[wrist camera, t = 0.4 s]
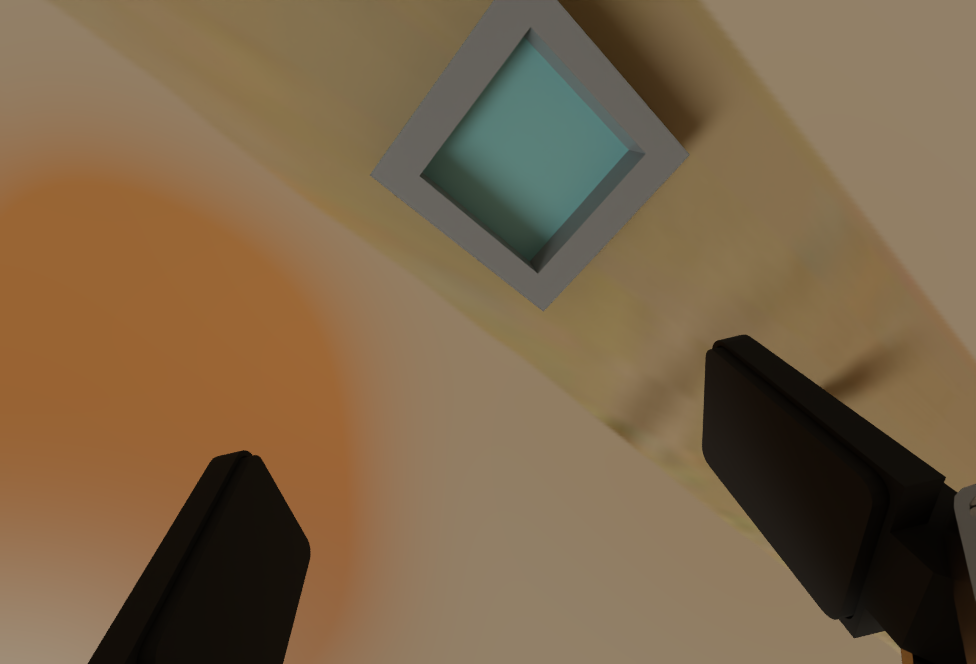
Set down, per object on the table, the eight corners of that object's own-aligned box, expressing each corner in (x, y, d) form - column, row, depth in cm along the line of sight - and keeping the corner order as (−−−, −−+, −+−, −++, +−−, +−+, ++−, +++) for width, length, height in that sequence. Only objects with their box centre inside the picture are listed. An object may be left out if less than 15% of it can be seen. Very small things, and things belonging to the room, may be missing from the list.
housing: (376, 167, 33) (369, 175, 30) (511, -23, 29) (522, -41, 25) (532, 292, 39) (543, 311, 35) (663, 149, 35) (689, 154, 31)
